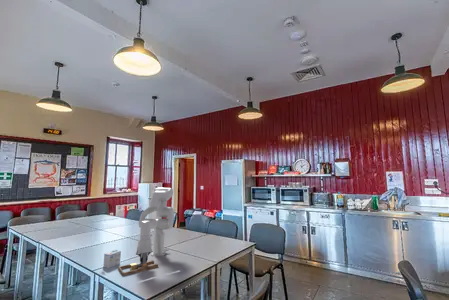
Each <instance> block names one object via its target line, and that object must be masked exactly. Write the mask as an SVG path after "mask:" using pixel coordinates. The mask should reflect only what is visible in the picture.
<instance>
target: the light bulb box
mask: <svg viewBox="0 0 449 300" xmlns="http://www.w3.org/2000/svg"><path fill="white" fill-rule="evenodd" d="M121 253H122V251H121V250H118V249H114V250H112V251H108V252H105V253H103V254H104V255H103V266H102V267H103V268H108V269H111V268H113V267H115V266H117V265H120V264H121V256H122V255H121Z"/></svg>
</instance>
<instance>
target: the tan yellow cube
mask: <svg viewBox="0 0 449 300" xmlns="http://www.w3.org/2000/svg"><path fill="white" fill-rule="evenodd" d="M136 263H137V262H134V263H130V267H129V271H133V270H137V264H136Z"/></svg>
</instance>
